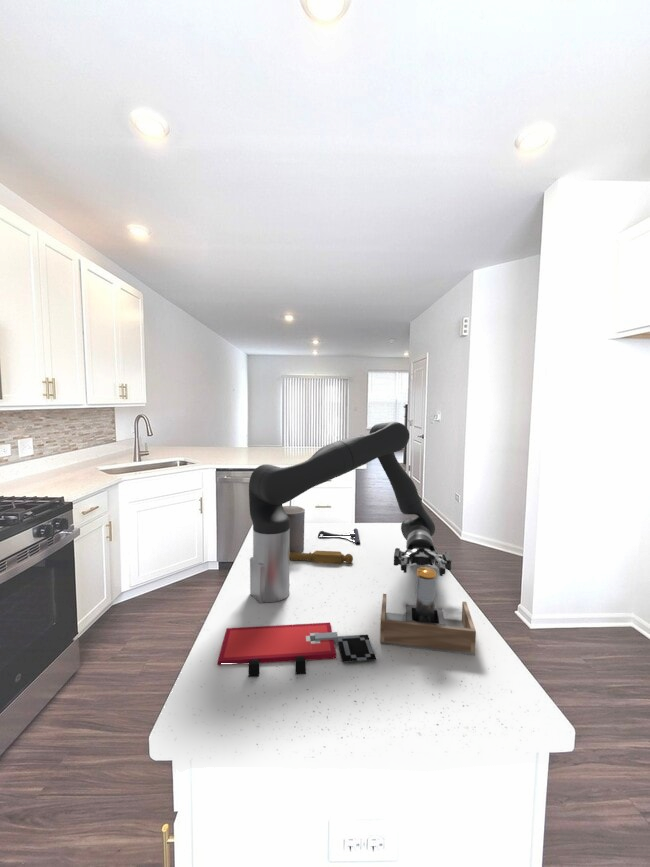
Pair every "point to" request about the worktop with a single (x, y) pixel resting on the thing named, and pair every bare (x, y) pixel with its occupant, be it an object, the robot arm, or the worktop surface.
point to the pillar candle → (296, 527)
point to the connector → (425, 595)
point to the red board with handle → (290, 645)
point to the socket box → (428, 630)
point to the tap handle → (322, 557)
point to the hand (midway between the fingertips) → (423, 570)
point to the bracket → (343, 535)
